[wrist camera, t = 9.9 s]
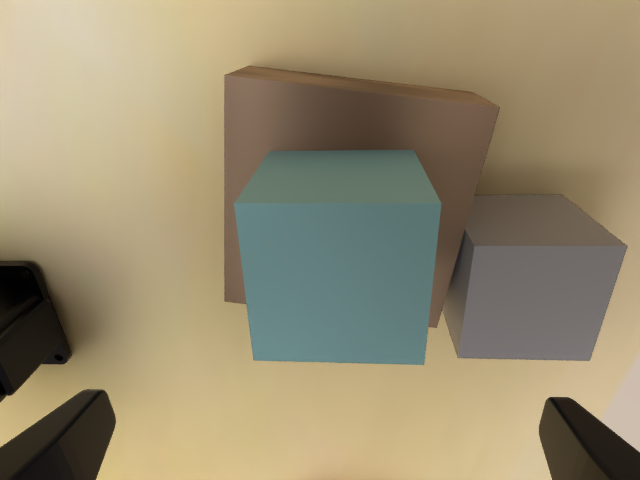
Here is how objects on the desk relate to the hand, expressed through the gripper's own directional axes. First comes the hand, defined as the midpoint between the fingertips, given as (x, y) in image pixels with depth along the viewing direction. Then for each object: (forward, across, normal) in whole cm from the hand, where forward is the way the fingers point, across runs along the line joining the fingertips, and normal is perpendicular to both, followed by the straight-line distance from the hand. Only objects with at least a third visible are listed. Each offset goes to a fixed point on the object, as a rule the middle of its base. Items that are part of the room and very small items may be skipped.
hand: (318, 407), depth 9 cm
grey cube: (+12, -7, +2) cm, 14 cm away
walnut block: (+12, 0, -1) cm, 12 cm away
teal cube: (+8, 0, -1) cm, 8 cm away
